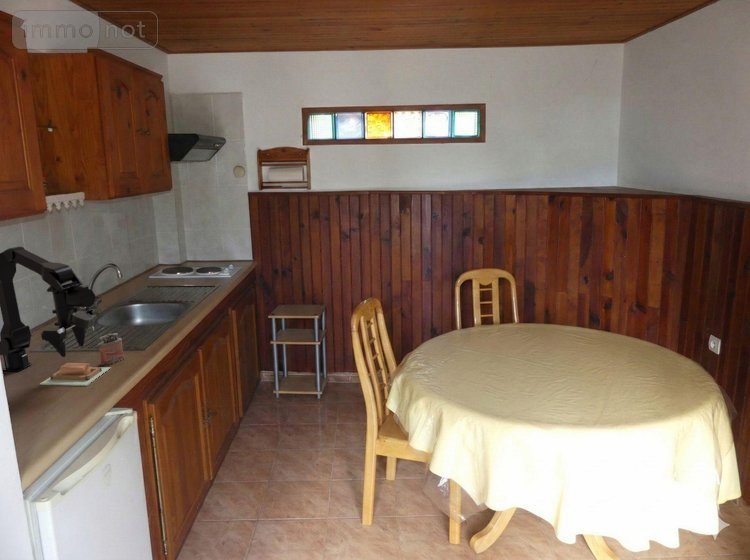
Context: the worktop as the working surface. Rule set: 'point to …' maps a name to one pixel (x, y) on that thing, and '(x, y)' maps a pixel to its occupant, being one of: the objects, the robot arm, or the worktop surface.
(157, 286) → the worktop surface
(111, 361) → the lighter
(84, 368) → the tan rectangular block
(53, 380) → the mat
